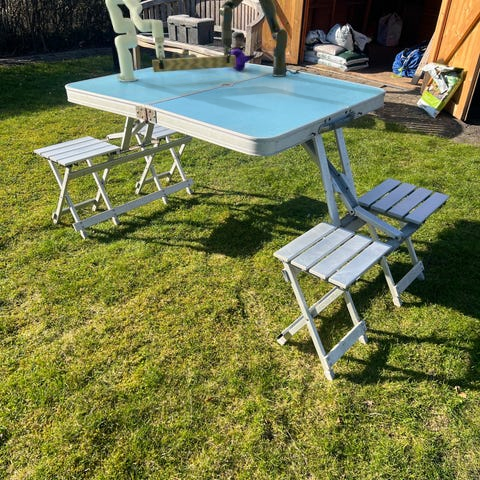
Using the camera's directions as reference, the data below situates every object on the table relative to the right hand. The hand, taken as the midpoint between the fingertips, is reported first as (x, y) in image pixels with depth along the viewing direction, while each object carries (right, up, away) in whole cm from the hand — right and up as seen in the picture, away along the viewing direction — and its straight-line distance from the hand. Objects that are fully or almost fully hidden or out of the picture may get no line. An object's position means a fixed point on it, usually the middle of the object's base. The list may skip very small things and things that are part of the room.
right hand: (227, 62), depth 327 cm
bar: (-23, -6, -4) cm, 24 cm away
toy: (+10, +12, +46) cm, 49 cm away
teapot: (-37, +19, +59) cm, 73 cm away
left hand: (-47, -8, -10) cm, 48 cm away
